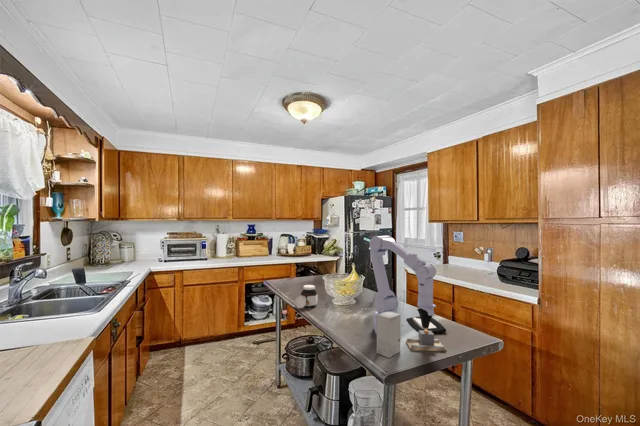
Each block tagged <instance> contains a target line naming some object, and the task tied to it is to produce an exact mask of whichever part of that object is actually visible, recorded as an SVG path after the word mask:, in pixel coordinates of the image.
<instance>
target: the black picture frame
mask: <svg viewBox="0 0 640 426" xmlns="http://www.w3.org/2000/svg"><path fill="white" fill-rule="evenodd" d="M406 322H407V324H408V325H409V326H410V327H411V328H412V329H413V330H415V331H416V332H417V333H418V334H419V330H424V329H426V330H428V331H432V333H433V334H434V335H435V334H440V333H446V332H447V329H446V328H445V326H443V324H442V323H440V321H437V319H435V318H433V317H432V318H431V320H430V324H429V327H428V328H423V327H422V323H421V318H420V316H413V317H408V318H406Z"/></svg>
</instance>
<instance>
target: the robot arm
mask: <svg viewBox="0 0 640 426" xmlns="http://www.w3.org/2000/svg"><path fill="white" fill-rule="evenodd" d="M395 240H396V239H394V238H393V237H391V236H390V235H387V234H386V235H373V236H372V237H371V238H370V240H369V242H368V244H369V248H370V251H369V252H370V253H369V257H370V260H371V265H372V269H373V274H374V278H375V284H376V288H377V292H376V294H375V296H374V298H375V304H374V305H375V309H376V310H377V311H374V312H373V330H374V333H375V335H377V315H378V314H381V313H384V312H388V311H390V312H394V313H396V309H398V306H399V301H398V299H397V297H396V295H395V292H394V291H392V290H391V289H390V283H389V281H388V280H389V279H388V276H387V271H386V266H385V261H384V259H383V258H384V257H383V256H384V255H385V253H386V252H387V251H389V250H390V251H391V252H393V253H394V254H396V255H397V256H398V257H400V258H401V259H403V263H404V264H405V265H406V266H407V267H408V268H409V269H411V270H412V271H413V272H414V273H415V276H416V279H417V282H418V283H417V289H418V291H417V292H418V294H417V307H418V308H417V309H416V310H417V312H418V314H419V317H420V318H421V323H422V327H423V328H428V327H429V324H430V320H431V318H433V316H435V310H434V308H437V305H436V304H434V277H436V274H437V269H436V268H435V266H434V265H433V264H432V263H427V262H426V261H425V260H422V259H421V258H420V257H419V256H418V254H416V253H413V252H408V250H406V249H404V247H402V246H401V245H400V244H399V243H397V241H395Z"/></svg>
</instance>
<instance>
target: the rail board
mask: <svg viewBox="0 0 640 426" xmlns="http://www.w3.org/2000/svg"><path fill="white" fill-rule="evenodd" d="M405 343H406V345H407V346H408V349H409V351H426V352H427V351H429V352H447V348H446V346H445V345H443V344H442V342H440V339H439V338H434V345H420V344H419V338H411V337H410V338H408V337H407V338H406V340H405Z"/></svg>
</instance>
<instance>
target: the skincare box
mask: <svg viewBox="0 0 640 426" xmlns="http://www.w3.org/2000/svg"><path fill="white" fill-rule="evenodd" d="M400 352H401V313H397V312H395V313H394V312H390V311H388V312H384V313H381V314H378V315H377V334H376V353H377V354H379V355H381V356H383V357H385V358H388V359H389V358H391V357H392V356H395V355H396V354H399V353H400Z"/></svg>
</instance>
